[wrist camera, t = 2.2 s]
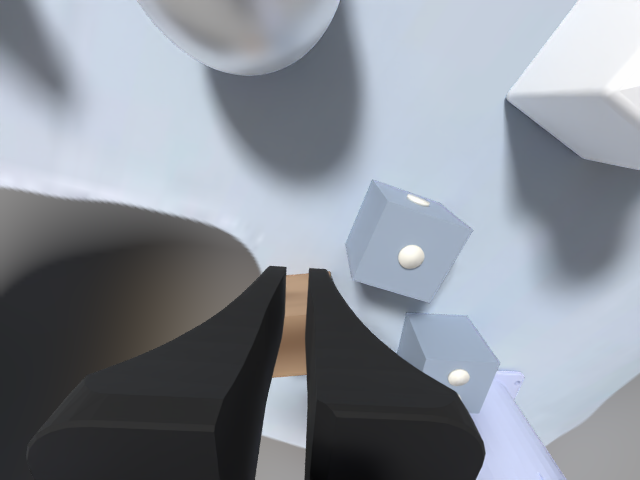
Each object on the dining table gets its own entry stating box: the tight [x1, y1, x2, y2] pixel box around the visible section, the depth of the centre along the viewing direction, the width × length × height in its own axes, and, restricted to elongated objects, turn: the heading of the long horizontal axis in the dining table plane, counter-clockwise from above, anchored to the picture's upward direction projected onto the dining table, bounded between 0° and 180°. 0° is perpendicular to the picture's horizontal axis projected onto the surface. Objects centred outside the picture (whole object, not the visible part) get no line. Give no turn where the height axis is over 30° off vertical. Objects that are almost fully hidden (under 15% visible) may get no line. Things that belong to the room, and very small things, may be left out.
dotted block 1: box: [345, 179, 473, 303], centre depth 19 cm, size 5×5×5 cm
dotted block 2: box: [397, 312, 500, 414], centre depth 23 cm, size 5×5×5 cm
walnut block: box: [272, 271, 331, 378], centre depth 22 cm, size 5×5×5 cm
